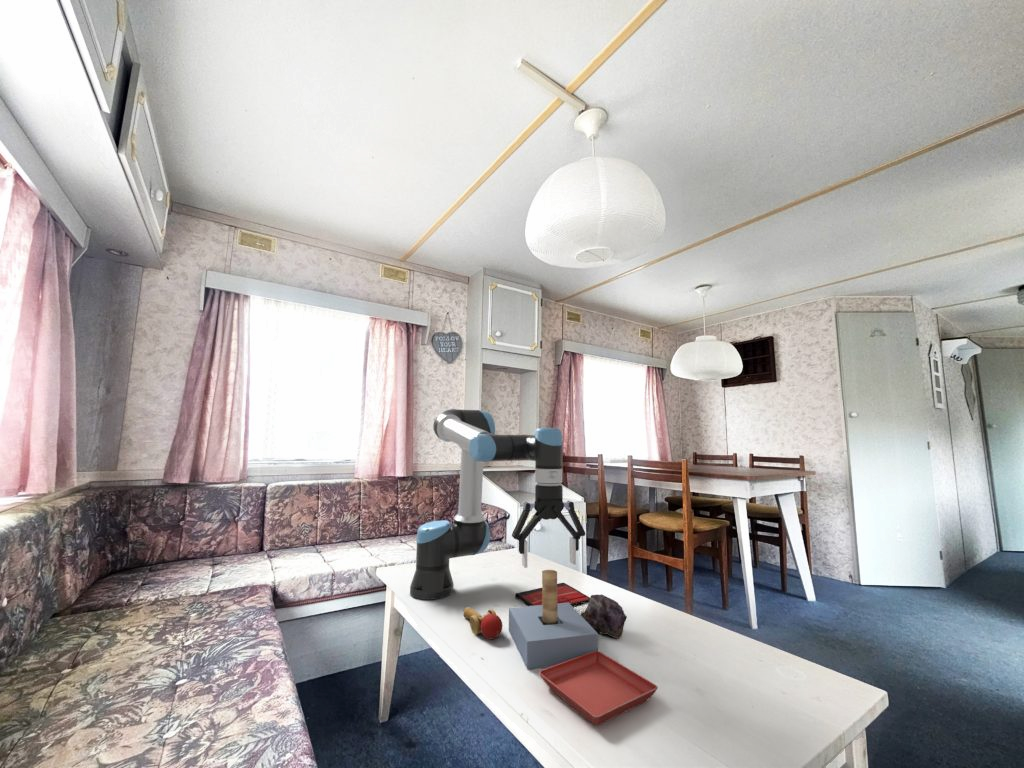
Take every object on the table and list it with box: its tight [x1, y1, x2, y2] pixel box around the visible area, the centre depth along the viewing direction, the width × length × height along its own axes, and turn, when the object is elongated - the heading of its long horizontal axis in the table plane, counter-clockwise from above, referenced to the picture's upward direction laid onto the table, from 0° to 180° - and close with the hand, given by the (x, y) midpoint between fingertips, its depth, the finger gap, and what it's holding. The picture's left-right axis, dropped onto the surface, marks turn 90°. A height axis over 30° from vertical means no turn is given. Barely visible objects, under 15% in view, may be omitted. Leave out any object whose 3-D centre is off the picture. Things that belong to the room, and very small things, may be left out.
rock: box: [580, 594, 628, 639], centre depth 115 cm, size 12×9×10 cm
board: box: [508, 602, 599, 670], centre depth 107 cm, size 20×18×6 cm
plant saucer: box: [538, 650, 659, 726], centre depth 86 cm, size 18×18×3 cm
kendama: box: [463, 606, 503, 640], centre depth 116 cm, size 8×6×18 cm
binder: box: [514, 582, 591, 607], centre depth 137 cm, size 16×2×21 cm
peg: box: [541, 569, 558, 625], centre depth 108 cm, size 4×4×18 cm
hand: (549, 564), depth 109 cm, fingers open, 13 cm apart
